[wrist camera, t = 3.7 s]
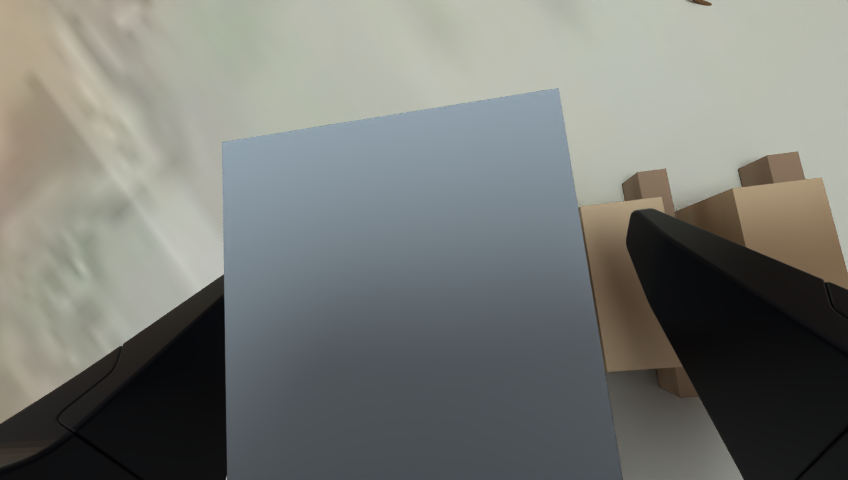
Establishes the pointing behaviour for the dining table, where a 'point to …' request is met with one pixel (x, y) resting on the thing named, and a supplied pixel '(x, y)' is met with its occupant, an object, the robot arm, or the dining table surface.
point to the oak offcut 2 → (777, 224)
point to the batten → (412, 301)
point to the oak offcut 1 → (622, 291)
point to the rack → (658, 186)
